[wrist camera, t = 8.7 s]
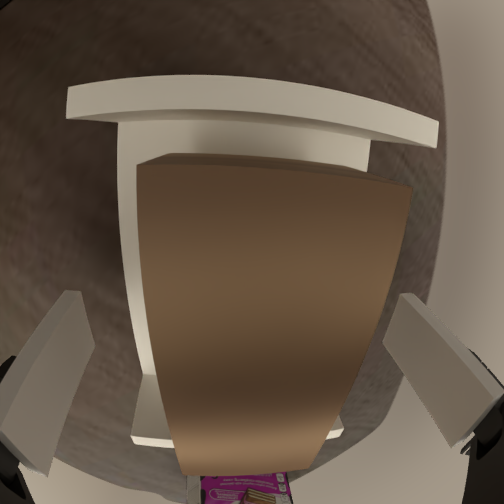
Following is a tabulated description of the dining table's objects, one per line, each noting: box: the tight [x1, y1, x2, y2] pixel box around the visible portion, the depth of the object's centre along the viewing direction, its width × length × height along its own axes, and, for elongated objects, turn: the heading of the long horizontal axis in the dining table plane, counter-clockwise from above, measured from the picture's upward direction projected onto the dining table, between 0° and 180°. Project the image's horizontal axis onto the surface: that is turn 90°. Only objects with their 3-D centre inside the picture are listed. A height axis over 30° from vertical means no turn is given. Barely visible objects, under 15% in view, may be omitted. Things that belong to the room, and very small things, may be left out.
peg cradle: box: [66, 75, 439, 448], centre depth 13 cm, size 17×12×6 cm
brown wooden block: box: [136, 153, 413, 476], centre depth 10 cm, size 13×6×4 cm, turn 175°
